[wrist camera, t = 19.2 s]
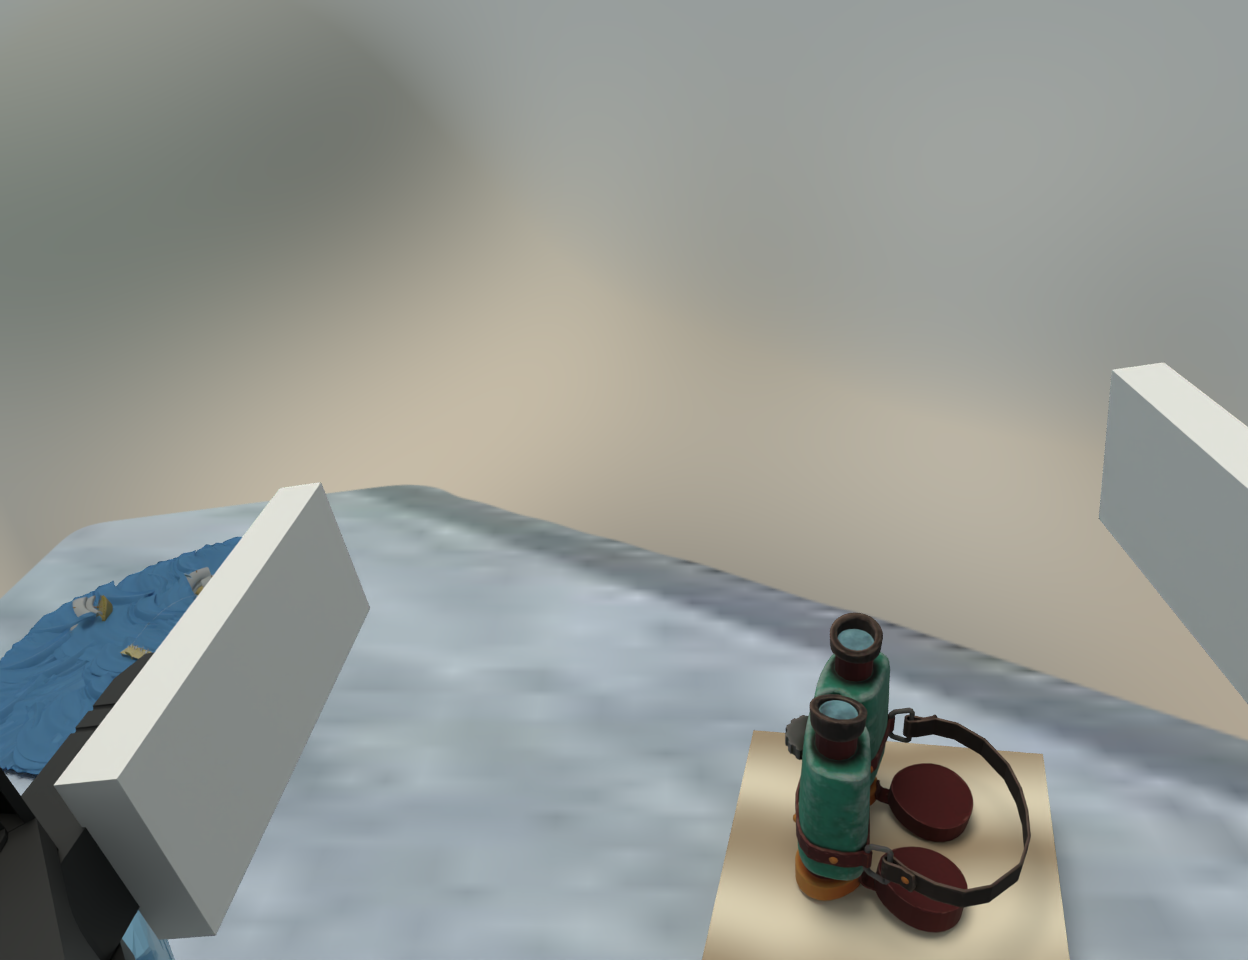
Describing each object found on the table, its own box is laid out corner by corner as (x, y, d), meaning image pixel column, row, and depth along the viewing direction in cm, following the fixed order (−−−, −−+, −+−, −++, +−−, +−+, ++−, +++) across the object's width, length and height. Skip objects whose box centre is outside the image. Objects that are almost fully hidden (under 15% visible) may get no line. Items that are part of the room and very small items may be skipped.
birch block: (1073, 1128, 34) (1081, 1054, 32) (712, 1053, 39) (696, 984, 36) (1038, 825, 45) (1042, 754, 43) (763, 795, 50) (753, 730, 48)
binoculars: (1060, 798, 29) (761, 731, 33) (1012, 979, 35) (760, 905, 38) (1054, 625, 36) (809, 585, 40) (1015, 798, 42) (802, 749, 45)
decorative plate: (428, 550, 82) (415, 502, 80) (226, 811, 57) (197, 753, 55) (167, 541, 91) (147, 497, 88) (-109, 766, 66) (-147, 713, 63)
